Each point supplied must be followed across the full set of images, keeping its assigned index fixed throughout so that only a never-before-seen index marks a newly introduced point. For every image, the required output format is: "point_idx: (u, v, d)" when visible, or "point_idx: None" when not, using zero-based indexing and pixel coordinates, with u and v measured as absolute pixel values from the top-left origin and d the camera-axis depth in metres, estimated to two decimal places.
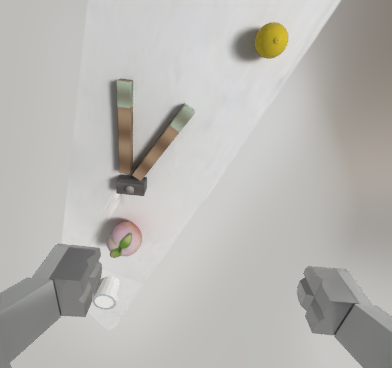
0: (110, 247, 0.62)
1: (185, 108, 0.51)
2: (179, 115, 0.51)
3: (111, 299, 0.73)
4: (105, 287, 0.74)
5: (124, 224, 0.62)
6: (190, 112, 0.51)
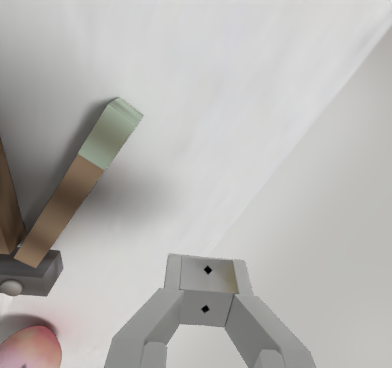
0: None
1: (111, 110, 0.19)
2: (97, 129, 0.19)
3: None
4: None
5: (17, 344, 0.31)
6: (126, 121, 0.19)
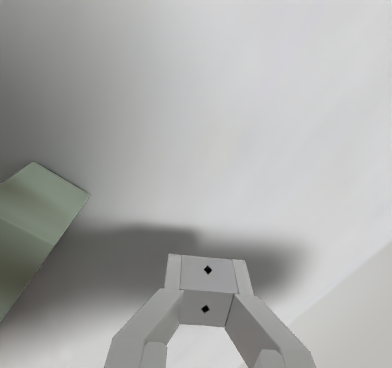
0: None
1: None
2: None
3: None
4: None
5: None
6: (27, 238, 0.08)
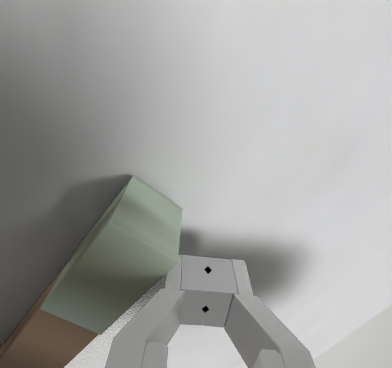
0: None
1: (117, 235, 0.07)
2: (84, 269, 0.08)
3: None
4: None
5: None
6: (153, 255, 0.08)
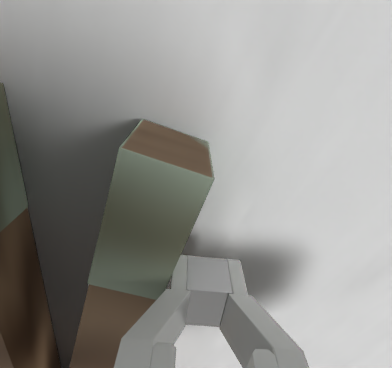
0: None
1: (134, 163, 0.06)
2: (114, 220, 0.07)
3: None
4: None
5: None
6: (182, 178, 0.06)
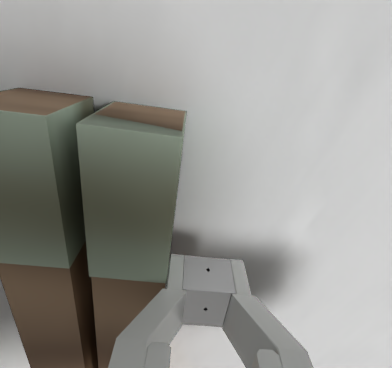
0: None
1: (96, 137, 0.06)
2: (94, 204, 0.07)
3: None
4: None
5: None
6: (150, 143, 0.06)
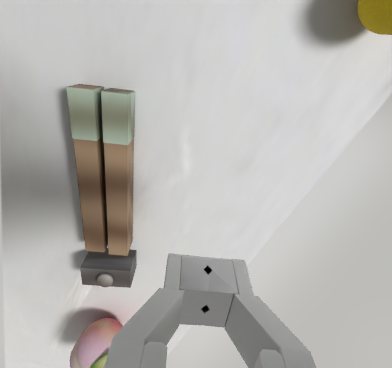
0: None
1: (106, 94, 0.24)
2: (105, 114, 0.24)
3: None
4: None
5: (98, 330, 0.36)
6: (119, 96, 0.24)
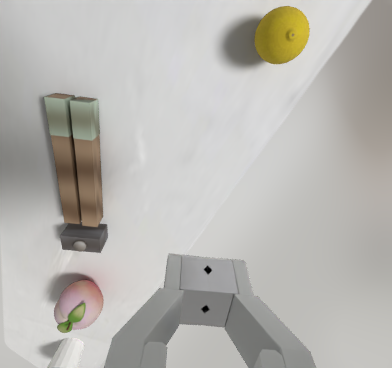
0: (57, 320, 0.45)
1: (73, 103, 0.32)
2: (73, 117, 0.33)
3: None
4: (62, 356, 0.57)
5: (76, 287, 0.46)
6: (83, 104, 0.32)
